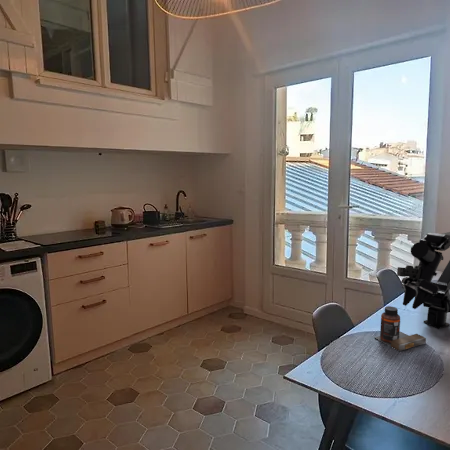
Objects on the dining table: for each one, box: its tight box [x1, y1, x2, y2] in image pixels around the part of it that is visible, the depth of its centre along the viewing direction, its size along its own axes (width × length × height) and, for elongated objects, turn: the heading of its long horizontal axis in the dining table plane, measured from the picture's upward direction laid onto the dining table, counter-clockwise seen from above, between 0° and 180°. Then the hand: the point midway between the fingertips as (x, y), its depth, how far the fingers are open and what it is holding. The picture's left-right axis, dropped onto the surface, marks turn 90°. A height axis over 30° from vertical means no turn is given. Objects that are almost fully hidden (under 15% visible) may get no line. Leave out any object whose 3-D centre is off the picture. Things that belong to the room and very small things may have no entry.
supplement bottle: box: [379, 305, 401, 343], centre depth 127 cm, size 6×6×11 cm
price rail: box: [390, 333, 427, 352], centre depth 125 cm, size 12×4×2 cm, turn 115°
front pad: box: [374, 331, 410, 347], centre depth 130 cm, size 12×7×1 cm, turn 115°
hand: (408, 306), depth 132 cm, fingers open, 9 cm apart
